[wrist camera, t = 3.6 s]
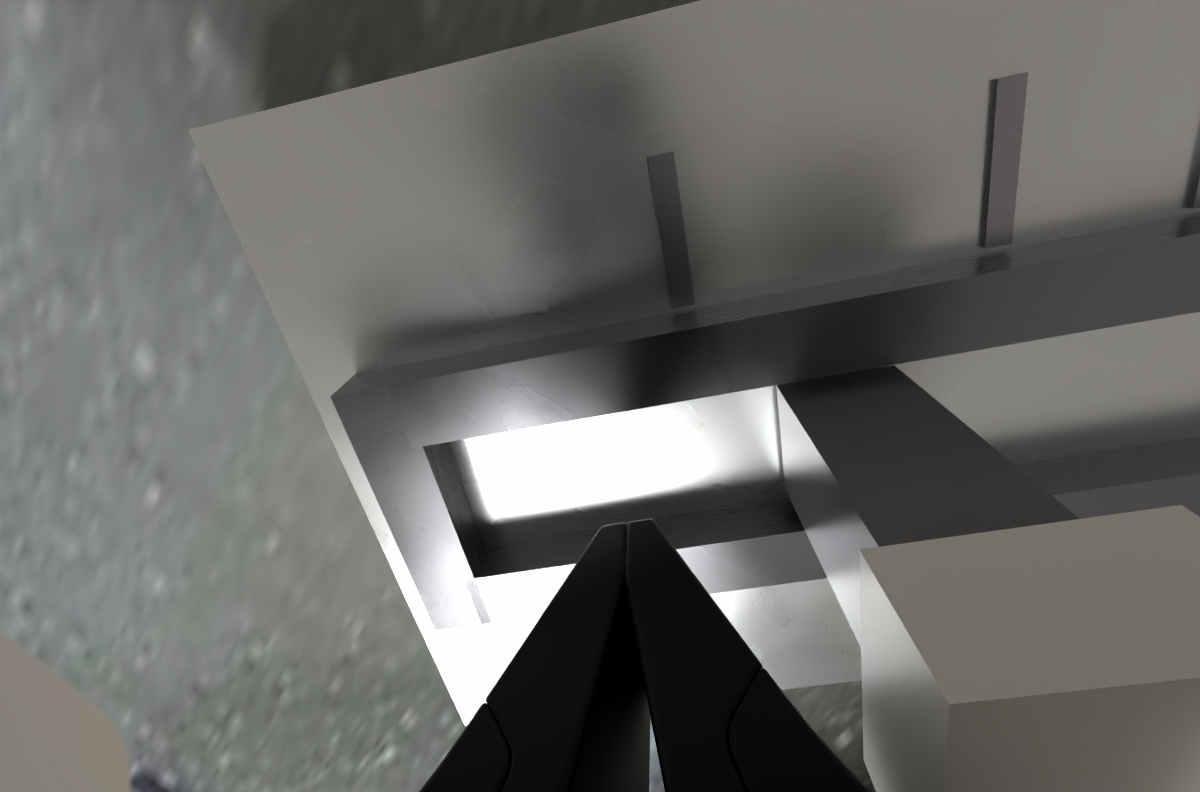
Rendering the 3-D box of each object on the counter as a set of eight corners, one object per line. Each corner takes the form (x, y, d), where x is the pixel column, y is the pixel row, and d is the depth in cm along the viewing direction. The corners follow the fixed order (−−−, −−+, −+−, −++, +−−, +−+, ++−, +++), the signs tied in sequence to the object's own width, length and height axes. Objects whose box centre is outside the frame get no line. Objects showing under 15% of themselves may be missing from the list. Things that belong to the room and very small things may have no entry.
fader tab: (914, 490, 11) (1267, 912, 5) (766, 512, 11) (933, 935, 5) (919, 333, 9) (1408, 654, 4) (750, 363, 10) (948, 703, 4)
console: (1440, 538, 13) (1650, 640, 11) (481, 658, 16) (454, 765, 13) (1854, -264, 8) (2529, -484, 5) (262, 130, 10) (135, 129, 8)
